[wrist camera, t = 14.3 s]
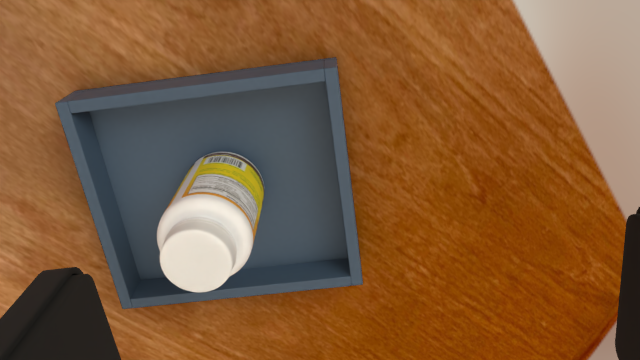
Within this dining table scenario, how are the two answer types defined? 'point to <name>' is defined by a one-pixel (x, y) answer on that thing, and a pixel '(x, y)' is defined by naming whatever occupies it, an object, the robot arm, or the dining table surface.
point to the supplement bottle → (211, 222)
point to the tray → (220, 136)
